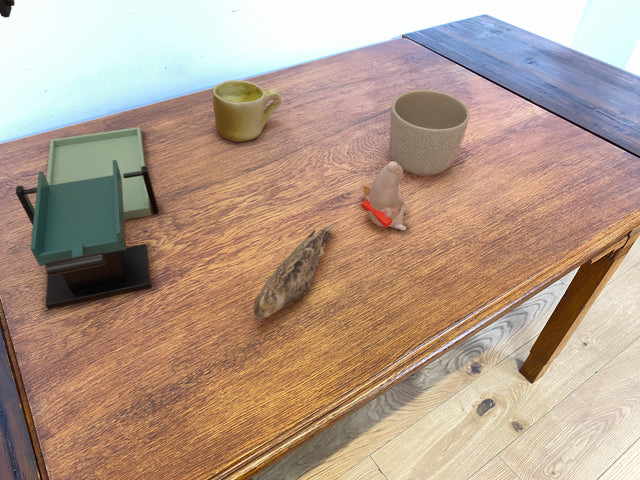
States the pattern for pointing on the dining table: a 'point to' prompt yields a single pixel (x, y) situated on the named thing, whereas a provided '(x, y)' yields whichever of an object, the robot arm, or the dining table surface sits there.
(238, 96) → the mug
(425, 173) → the planter
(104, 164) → the tray
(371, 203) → the figurine
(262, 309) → the bird model
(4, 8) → the robot arm
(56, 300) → the stand
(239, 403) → the dining table surface
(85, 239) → the scoop
